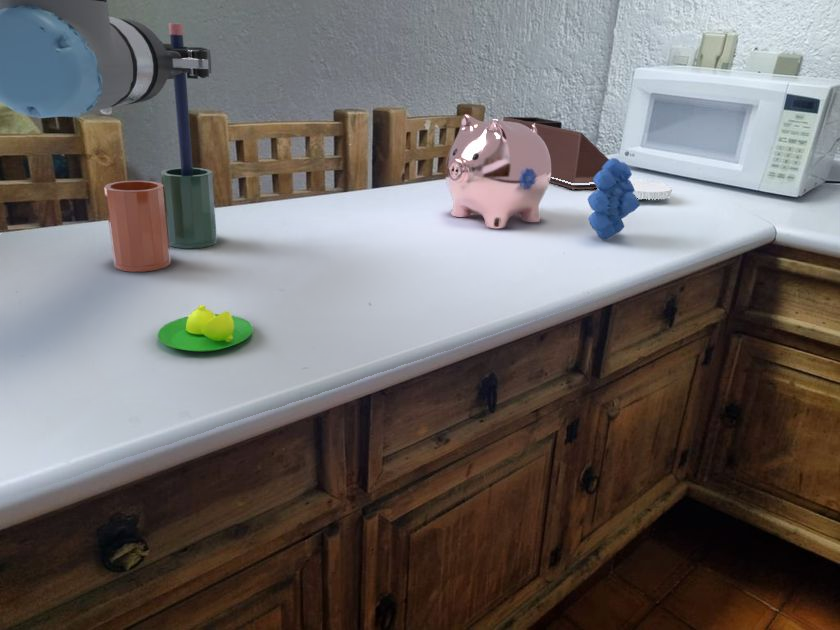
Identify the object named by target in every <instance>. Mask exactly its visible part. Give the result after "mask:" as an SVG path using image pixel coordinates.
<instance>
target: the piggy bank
mask: <svg viewBox="0 0 840 630" xmlns="http://www.w3.org/2000/svg"><path fill="white" fill-rule="evenodd" d="M531 126H532V129H533V130H531V129H530V128H528V127H527V126H525V125H523V124H520V123H516V122H509V121H503V120H500V119H498V118H492V119H491V120H490V121H482V120H478V119H476V118H475V117H473V116H471V115H470V114H468V113H465V114H463V116H462V118H461V119H460V125H459V130H458V133H457V135H456V137H455V139H454V141H453V142H452V145H451V146H450V149H449V151H448V152H447V153H448V154H447V156H446V160H445V164H444V165H445V166H444V176H445V182H446V186H447V189H448V191H449V194H450V197H451V200H452V207H451V212H450V215H451V216H453V217H456V218H467V217H470V215H472V214H476V215H479V216H481V217H482V218H483V219H484V223H485V226H486V227H487V228H490V229H495V230H497V229H504V228H506V225H507V224H508V222H509V219H510V218H512V217H516V216H520V219H521V221H522V222H525V223H538V222H540V221H541V215H540V204H541V201H542V200H543V198H544V196H545V194H546V192H547V190H548V187H549V185H550V184H551V183H550V179H551V173H552V163H551V158H550V154H549V151H548V148H547V146H546V144H545V143H544V141H543V140H542V138H541V137H540V136H539V135H538V134H537V129H536V126H535V124H534V125H531Z"/></svg>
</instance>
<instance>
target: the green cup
mask: <svg viewBox="0 0 840 630" xmlns="http://www.w3.org/2000/svg"><path fill="white" fill-rule="evenodd" d="M160 178H161V179H160V180H161V184H163V185H164V190H165V201H166V212H167V223H168V234H169V245H170V247H173V248H177V249H187V250H188V249H201V248H208V247H211V246H213V245H216V243H217V221H216V220H217V219H216V206H215V205H216V204H215V187H214V174H213V171H212V170H210V169H207V168H202V167H193V175H191V176H182V175H181V167H173V168H167V169H164V170H161V171H160Z"/></svg>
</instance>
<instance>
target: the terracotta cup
mask: <svg viewBox="0 0 840 630" xmlns="http://www.w3.org/2000/svg"><path fill="white" fill-rule="evenodd" d="M103 189H104V197H105V204H106V213H107V220H108V229H109V237H110V245H111V253H112V260H113V265H114V268H116V269H117V270H120V271H123V272H129V273H131V272H132V273H145V272H152V271H158V270H161V269H165V268H167V267H168V266H170V265H171V262H172V261H171V256H172V255H171V246H170V245H169V234H168V223H167V212H166V201H165V190H164V185H163V184H162V182H157V181H152V180H151V181H150V180H123V181H122V180H121V181H115V182H114V181H113V182H110V183H107V184H105V185H104V186H103Z"/></svg>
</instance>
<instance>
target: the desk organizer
mask: <svg viewBox="0 0 840 630" xmlns="http://www.w3.org/2000/svg"><path fill="white" fill-rule="evenodd" d="M502 118H503V120H502V121H509V122H516V123H520V124H523V125H525V126H527V127H528V128H530V129H531V130H533V129H532V126H531V125H534V124H535V126H536V129H537V134H538V135H539V136H540V137H541V138H542V140H543V141H544V143H545V144H546V146H547V148H548V151H549V154H550V158H551V163H552V173H551V177H554V178H558V179H561V180H565V181H568V182H571V183H589V182H594V181H593V178H594V176H595V175H596V174H597V173H598V172H599V171H601V170H603V169H602V167H603V165H604V164H605V163H606V162H607V161H608V160H610V159H609V158H608V157H607V156H606V155H605V154H604V153H602V151H601V150H600V149H599V148H598V147H597V146H596V145H595V144H594V143H593V142H592V141H591V140H589V138H588V137H586V135H584V133H583V132H580V131H575V130H572V129H566V128H562V125H563V123H562V121H558V120H551V119H547V118H541V117H539V116H538V117H537V116H535V117H534V116H533V117H532V116H530V117H529V116H503V117H502ZM549 184H553V185H556V186H559V185H560V187H563V188H567V189H569V190H571V189H572V191H576V190H575V189H577V190H595V189H594V188H597V187H596V185H595V184H590V185H571V184H568V183H565V182H562V181H559V180H556V179H552V178H551V179H550V183H549Z"/></svg>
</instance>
